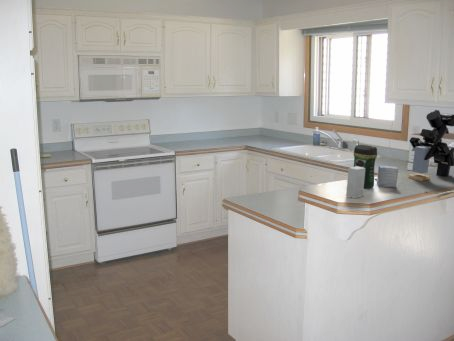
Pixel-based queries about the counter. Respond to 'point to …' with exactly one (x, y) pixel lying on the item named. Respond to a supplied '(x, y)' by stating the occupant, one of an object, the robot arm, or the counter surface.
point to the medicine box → (387, 176)
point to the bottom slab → (419, 180)
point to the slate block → (420, 160)
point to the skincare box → (355, 182)
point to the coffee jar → (366, 162)
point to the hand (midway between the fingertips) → (419, 158)
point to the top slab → (418, 177)
